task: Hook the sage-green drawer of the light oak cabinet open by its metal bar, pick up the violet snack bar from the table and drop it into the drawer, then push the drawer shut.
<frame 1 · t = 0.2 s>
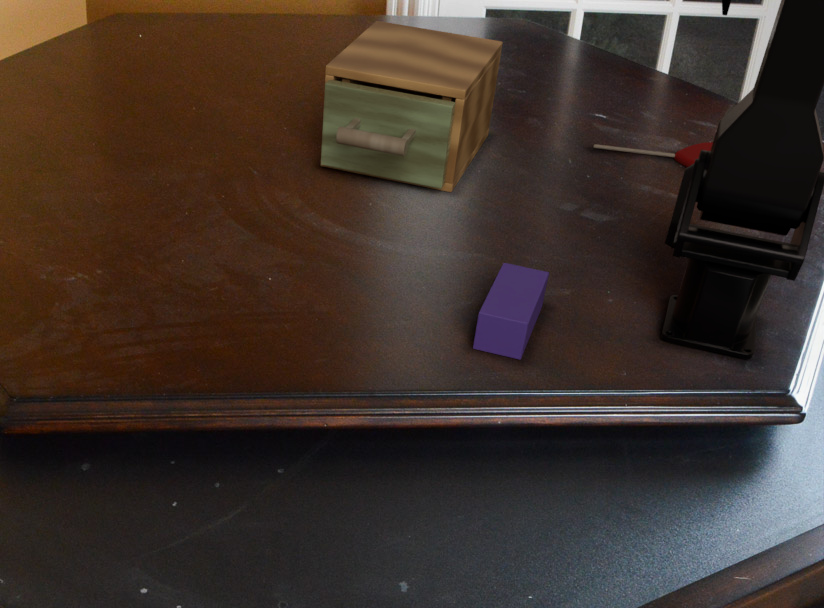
hand: (780, 22, 90), 15 cm above the table, tool pointing down, fingers open, 9 cm apart
snack bar: (508, 327, 78), on the table
lollipop: (669, 161, 103), on the table
cabinet: (407, 150, 101), on the table
drawer: (398, 119, 95), point 5 cm above the table, slide at 0.5 cm
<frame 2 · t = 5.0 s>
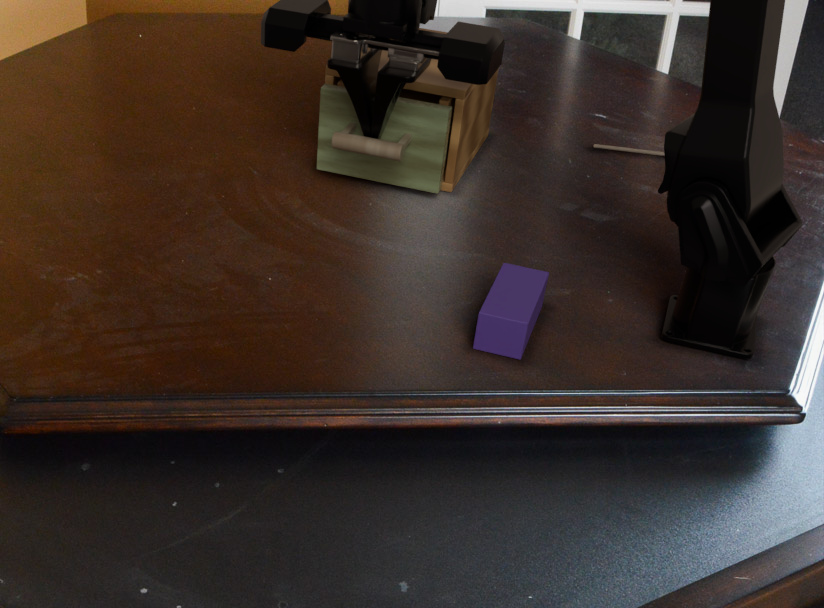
hand: (372, 143, 89), 5 cm above the table, tool pointing down, fingers closed, pressing on drawer
drawer: (395, 123, 94), point 5 cm above the table, slide at 1.7 cm, touching gripper
everything else where it was.
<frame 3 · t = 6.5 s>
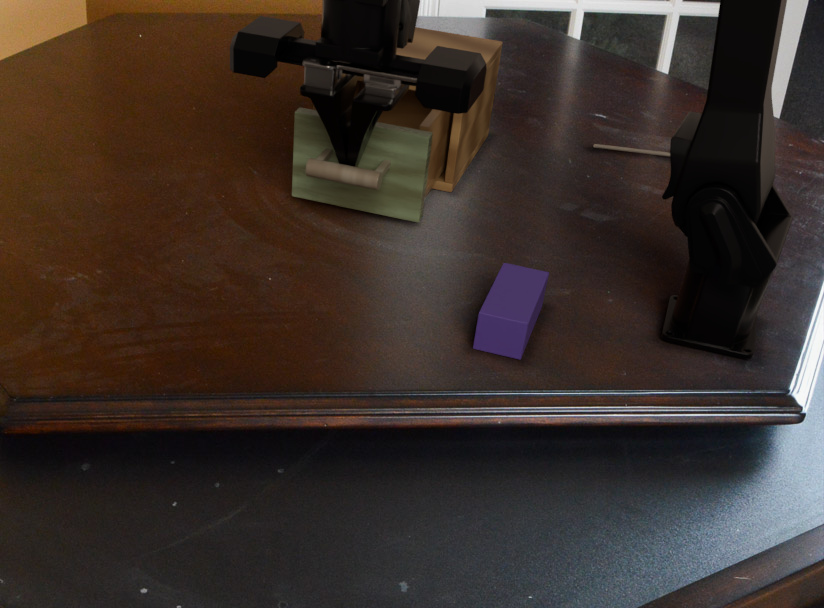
hand: (349, 172, 85), 5 cm above the table, tool pointing down, fingers closed, pressing on drawer
drawer: (374, 148, 90), point 5 cm above the table, slide at 7.8 cm, touching gripper
everything else where it was.
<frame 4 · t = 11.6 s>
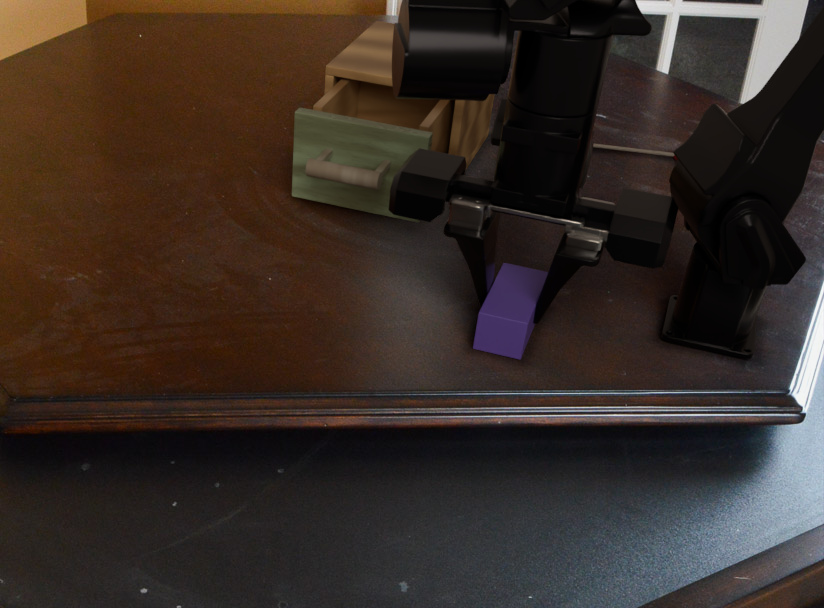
hand: (510, 315, 77), 1 cm above the table, tool pointing down, fingers closed on snack bar, 3 cm apart
snack bar: (508, 327, 78), on the table, touching gripper
drawer: (374, 148, 90), point 5 cm above the table, slide at 7.9 cm
everything else where it was.
when the fingers open (6 cm above the table, at t = 16.7 s): snack bar drops 3 cm, resting on drawer.
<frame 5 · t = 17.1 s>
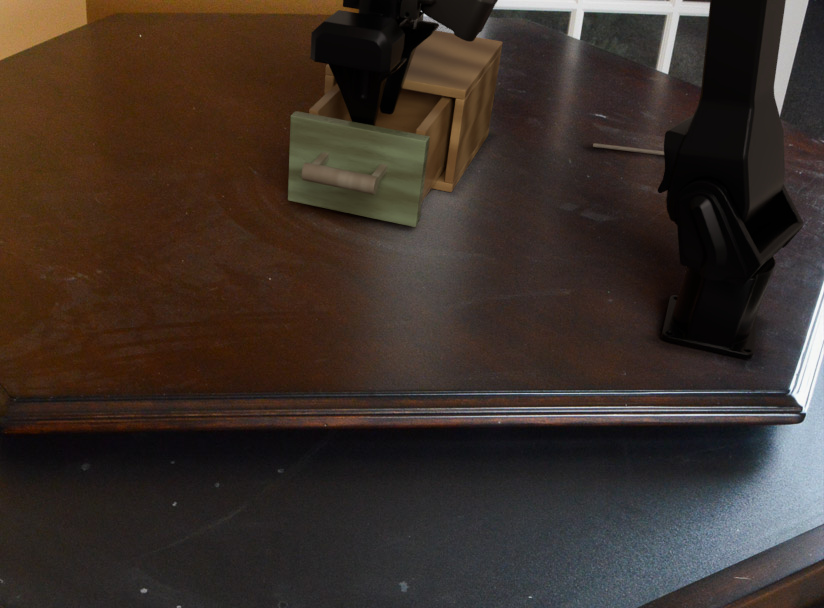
hand: (376, 125, 88), 7 cm above the table, tool pointing down, fingers open, 6 cm apart
snack bar: (368, 179, 91), point 2 cm above the table, touching drawer
drawer: (371, 152, 89), point 5 cm above the table, slide at 8.8 cm, touching snack bar
everything else where it was.
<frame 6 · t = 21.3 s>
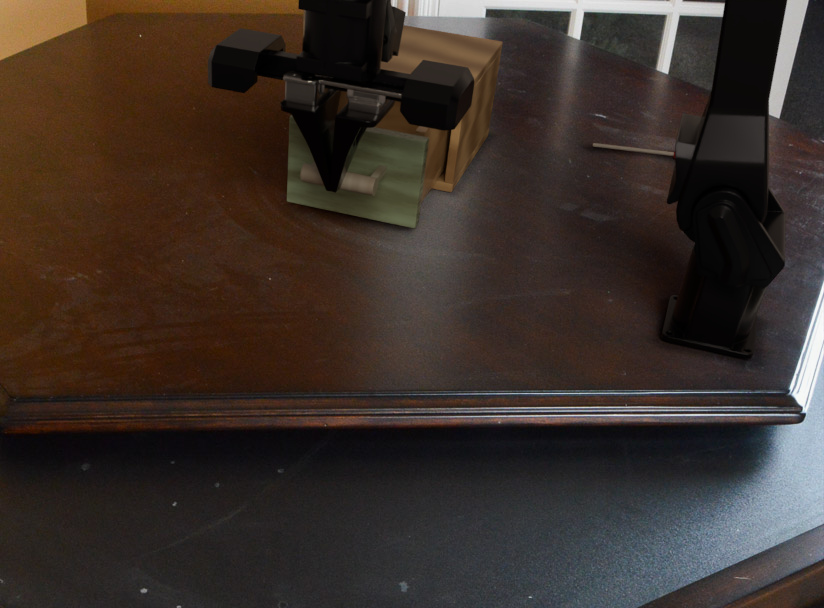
hand: (333, 189, 82), 5 cm above the table, tool pointing down, fingers closed, pressing on drawer
drawer: (370, 153, 89), point 5 cm above the table, slide at 9.0 cm, touching gripper, snack bar
everything else where it was.
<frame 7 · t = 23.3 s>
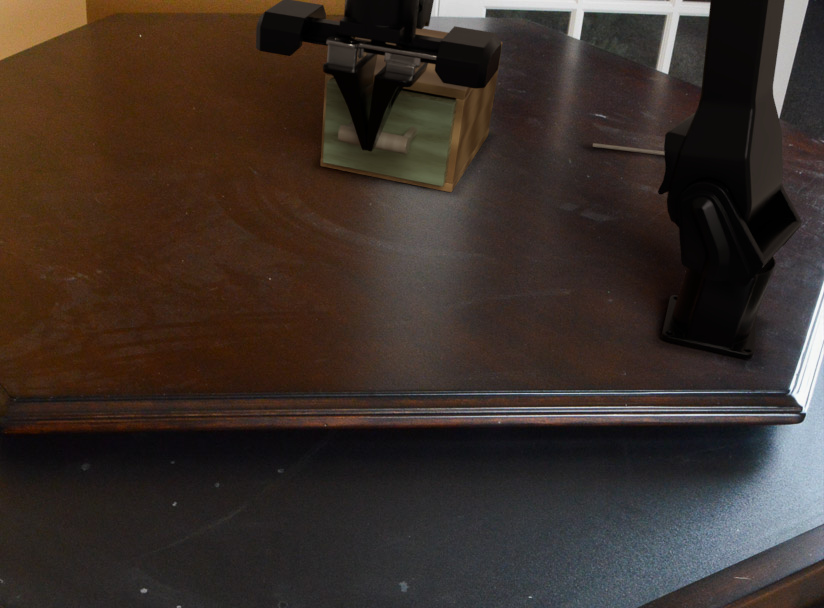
hand: (368, 149, 88), 5 cm above the table, tool pointing down, fingers closed, pressing on drawer
snack bar: (397, 143, 97), point 2 cm above the table, touching drawer
drawer: (400, 117, 96), point 5 cm above the table, slide at 0.0 cm, touching cabinet, gripper, snack bar
everything else where it was.
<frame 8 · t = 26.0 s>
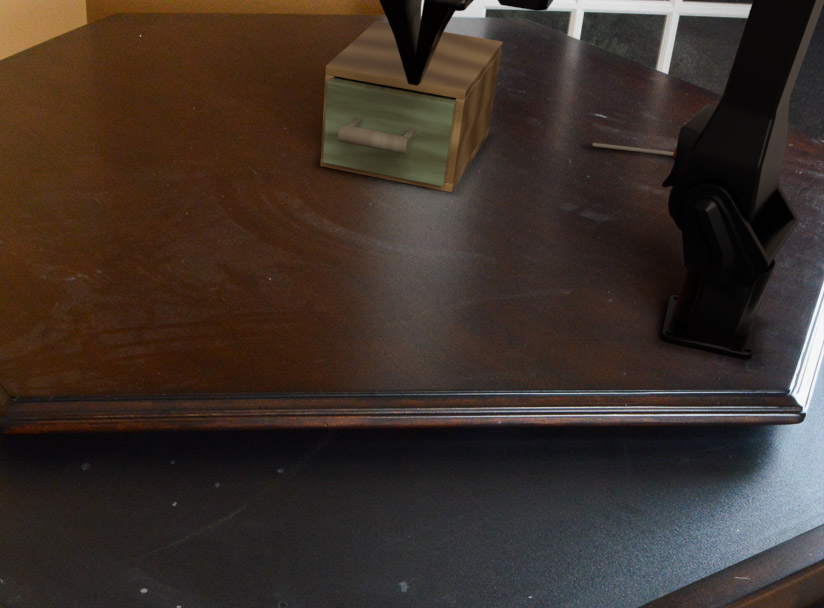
hand: (414, 83, 81), 12 cm above the table, tool pointing down, fingers closed
drawer: (400, 117, 96), point 5 cm above the table, slide at 0.0 cm, touching cabinet, snack bar
everything else where it was.
at the end: snack bar inside the target area in the cabinet (3.7 cm from its centre), point 2.0 cm above the cabinet's base; drawer slide at 0.0 cm; the gripper is holding nothing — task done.
